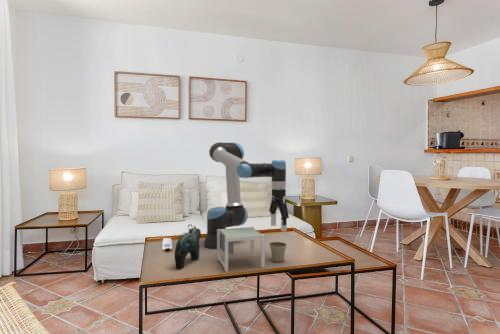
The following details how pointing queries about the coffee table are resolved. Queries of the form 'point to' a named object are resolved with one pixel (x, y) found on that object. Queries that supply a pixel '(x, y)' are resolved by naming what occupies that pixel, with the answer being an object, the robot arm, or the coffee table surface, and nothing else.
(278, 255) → the flower pot
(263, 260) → the frame
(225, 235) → the grey l-shaped slab
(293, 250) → the coffee table surface
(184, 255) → the dark green animal figurine
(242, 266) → the coffee table surface
